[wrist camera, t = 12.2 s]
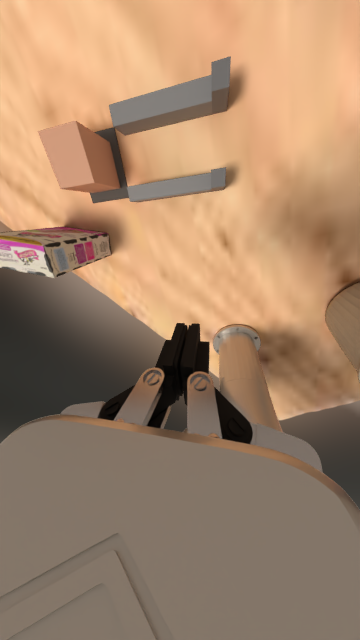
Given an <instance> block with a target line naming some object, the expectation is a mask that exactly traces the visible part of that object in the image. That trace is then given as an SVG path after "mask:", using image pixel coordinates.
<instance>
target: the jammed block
mask: <svg viewBox="0 0 360 640" xmlns="http://www.w3.org/2000/svg"><path fill="white" fill-rule="evenodd" d="M38 133H39V136H40V138H41V141H42V143H43V146H44V148H45V151H46V153H47V156H48V158H49V161H50V163H51V166H52V168H53V171H54V173H55V176H56V178H57V181H58V183H59V186H60V188H61V189H66V190H74V191H81V192H89V193H96V192H102V191H108V190H114V189H120V184H119V179H118V175H117V171H116V167H115V163H114V158H113V154H112V150H111V146H110V142H109V141H107V140H105V139H104V138H102V137H101V136H99V135H97V134H96V133H94V132H93V131H91V130H90V129H88V128H86V127H85V126H83V125H82V124H80V123H78V122H77V121H73V122H69V123H66V124H62V125H58V126H55V127H51V128H48V129H44V130H41V131H38Z"/></svg>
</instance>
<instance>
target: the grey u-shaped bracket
mask: <svg viewBox="0 0 360 640" xmlns="http://www.w3.org/2000/svg"><path fill="white" fill-rule="evenodd" d="M230 59H231V56H230V57H227V58H224V59H221V60H217V61H214V62H212V75H209V76H206V77H202V78H199V79H196V80H192V81H189V82H185V83H182V84H178V85H175V86H172V87H168V88H165V89H161V90H158V91H155V92H151V93H148V94H144V95H141V96H138V97H134V98H131V99H127V100H124V101H121V102H117V103H114V104H110V105H109V108H110V113H111V117H112V122H113V126H114V127H115V128H116V129H117V130H118V131H120V132H121V133H122V134H123V135H129V134H133V133H137V132H142V131H146V130H150V129H154V128H158V127H162V126H166V125H170V124H174V123H179V122H183V121H187V120H191V119H195V118H199V117H203V116H207V115H211V114H216V113H220V112H224V111H227V103H228V94H229V82H230ZM225 177H226V167H225V168H219V169H214V170H211V173H206V174H200V175H194V176H188V177H182V178H176V179H171V180H165V181H159V182H153V183H147V184H141V185H135V186H129V187H127V190H128V194H129V199H130V202H143V201H150V200H157V199H164V198H171V197H178V196H185V195H192V194H198V193H205V192H212V191H219V190H224V188H225Z"/></svg>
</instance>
